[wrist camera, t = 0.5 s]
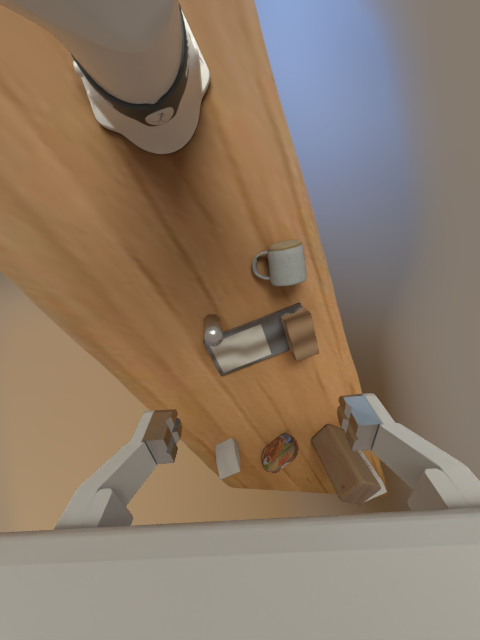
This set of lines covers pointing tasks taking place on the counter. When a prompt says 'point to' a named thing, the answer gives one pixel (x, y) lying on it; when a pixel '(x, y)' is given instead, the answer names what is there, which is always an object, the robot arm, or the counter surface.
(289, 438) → the tin
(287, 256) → the ceramic mug
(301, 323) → the grey board with block
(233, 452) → the tea bag
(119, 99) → the robot arm
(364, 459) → the supplement box
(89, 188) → the counter surface
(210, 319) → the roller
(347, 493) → the wooden block
